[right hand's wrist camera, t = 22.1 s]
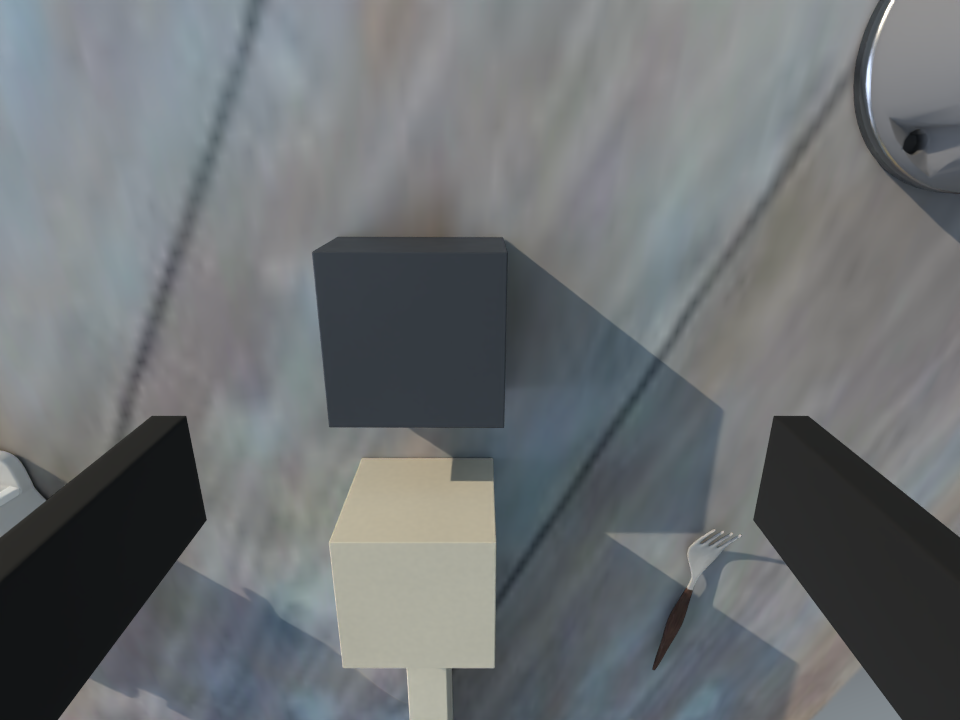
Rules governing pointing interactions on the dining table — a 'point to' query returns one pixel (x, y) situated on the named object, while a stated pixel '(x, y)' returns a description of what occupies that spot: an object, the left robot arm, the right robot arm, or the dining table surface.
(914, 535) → the right robot arm
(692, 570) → the fork
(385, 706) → the dining table surface
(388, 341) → the dark gray block
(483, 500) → the cream block
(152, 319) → the dining table surface
